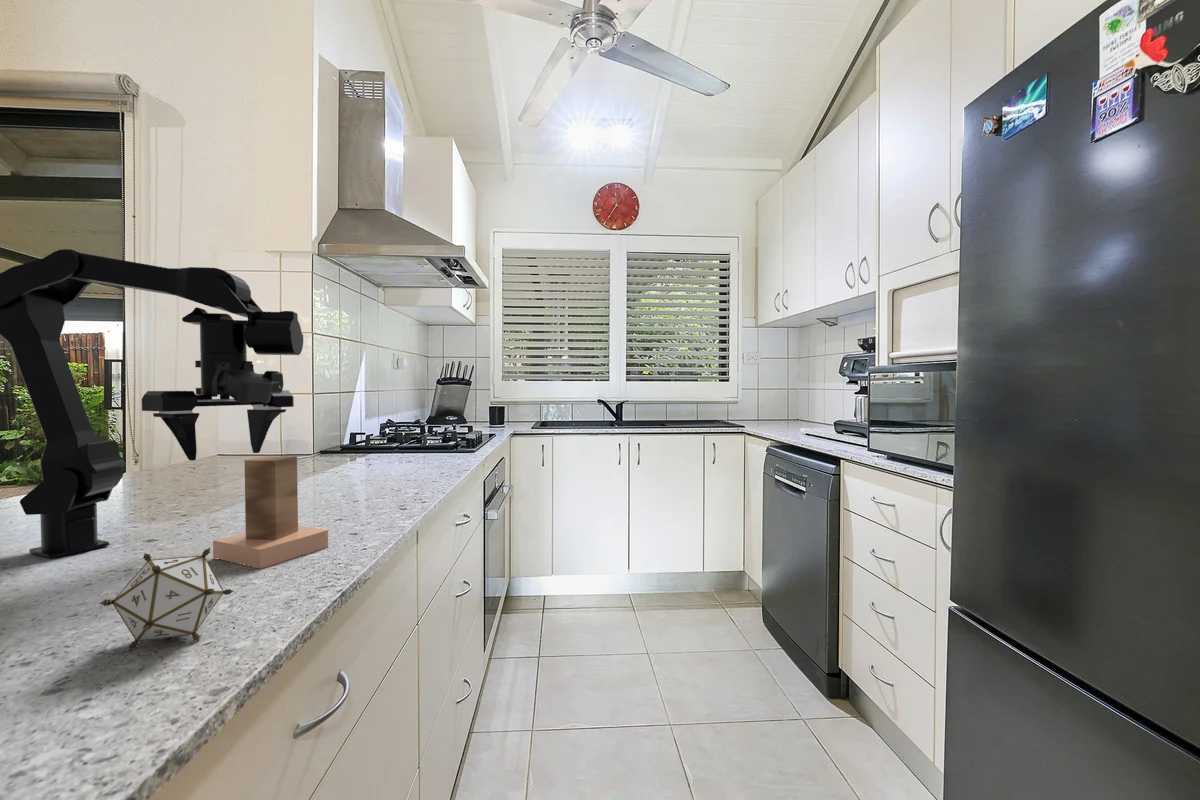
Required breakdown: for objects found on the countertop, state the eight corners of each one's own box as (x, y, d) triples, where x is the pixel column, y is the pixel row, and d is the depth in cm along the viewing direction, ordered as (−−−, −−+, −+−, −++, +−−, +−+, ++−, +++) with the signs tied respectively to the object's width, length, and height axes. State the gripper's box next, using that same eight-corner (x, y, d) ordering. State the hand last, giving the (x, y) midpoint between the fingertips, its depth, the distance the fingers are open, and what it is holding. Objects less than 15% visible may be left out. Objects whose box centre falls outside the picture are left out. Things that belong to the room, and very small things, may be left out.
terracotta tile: (213, 558, 71) (212, 540, 71) (282, 538, 81) (282, 522, 80) (260, 568, 67) (260, 549, 67) (328, 546, 77) (328, 530, 76)
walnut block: (245, 539, 72) (244, 460, 72) (269, 530, 76) (268, 456, 76) (276, 540, 71) (275, 460, 71) (298, 531, 76) (296, 456, 76)
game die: (174, 686, 47) (137, 630, 41) (105, 645, 49) (59, 585, 43) (259, 606, 54) (238, 548, 48) (196, 571, 56) (168, 511, 50)
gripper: (186, 348, 67) (188, 468, 68) (316, 356, 84) (317, 452, 85) (138, 351, 72) (140, 463, 72) (270, 358, 89) (272, 448, 89)
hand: (225, 456), depth 79 cm, fingers open, 9 cm apart
